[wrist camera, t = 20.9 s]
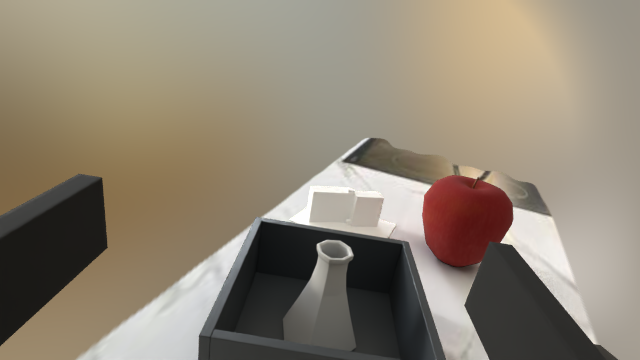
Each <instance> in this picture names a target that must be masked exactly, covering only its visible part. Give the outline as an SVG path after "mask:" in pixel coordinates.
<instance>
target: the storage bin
mask: <svg viewBox="0 0 640 360" xmlns="http://www.w3.org/2000/svg"><path fill="white" fill-rule="evenodd" d="M326 240H336V241H341V242H343V243H345V244H346V245H348V246H349V247H351V250H352V253H353V255H354V256H353V259H352V260H351V261H349V263H348V267H347V272H346V293H347V300H348V306H349V312H350V318H351V323H352V328H353V333H354V337H355V343H356V348H354V349H353V350H352V351H345V350H339V349H333V348H327V347H320V346H314V345H308V344H302V343H296V342H290V341H284V330H283V318H284V317H285V315H286V314H287V312H288V311H289V310H290V308H291V307H292V306H293V304H294V303H295V301H296V300H297V299H298V297H299V296H300V294H301V293H302V291H303V290H304V288H305V287H306V285H307V283H308V282H309V280H310V279H311V277H312V274H313V272H314V269H315V267H316V265H317V260H318V251H317V244H318V243H321V242H323V241H326ZM198 360H446V358H445V355H444V352H443V349H442V345H441V342H440V339H439V336H438V333H437V330H436V327H435V324H434V321H433V317H432V314H431V311H430V308H429V305H428V302H427V299H426V296H425V292H424V289H423V286H422V283H421V280H420V277H419V274H418V271H417V268H416V264H415V261H414V258H413V255H412V252H411V249H410V246H409V243H408V242H406V241H401V240H395V239H389V238H383V237H377V236H371V235H364V234H358V233H352V232H346V231H340V230H334V229H328V228H322V227H316V226H309V225H303V224H297V223H291V222H285V221H279V220H273V219H267V218H260V217H256V218H255V220H254V222H253V225H252V227H251V229H250V231H249V233H248V235H247V237H246V239H245V241H244V243H243V245H242V247H241V249H240V252H239V254H238V256H237V258H236V260H235V262H234V264H233V266H232V268H231V270H230V272H229V274H228V277H227V279H226V281H225V283H224V285H223V287H222V289H221V291H220V293H219V295H218V297H217V299H216V301H215V304H214V306H213V308H212V310H211V312H210V314H209V316H208V318H207V320H206V322H205V324H204V326H203V328H202V331H201V333H200V335H199V354H198Z"/></svg>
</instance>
